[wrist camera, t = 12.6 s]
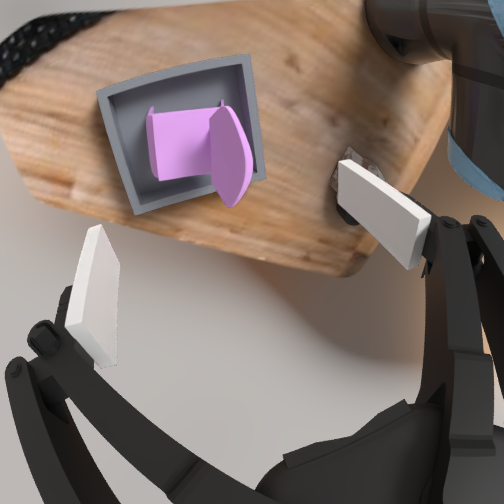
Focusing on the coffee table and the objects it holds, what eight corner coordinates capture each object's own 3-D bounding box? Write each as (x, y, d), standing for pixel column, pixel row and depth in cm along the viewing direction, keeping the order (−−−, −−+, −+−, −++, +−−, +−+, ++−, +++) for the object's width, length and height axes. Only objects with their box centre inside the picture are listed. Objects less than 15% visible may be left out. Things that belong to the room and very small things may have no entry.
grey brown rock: (354, 208, 51) (312, 205, 46) (386, 156, 43) (345, 144, 38) (376, 234, 47) (335, 236, 42) (413, 181, 39) (375, 172, 35)
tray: (239, 54, 29) (250, 53, 26) (256, 167, 38) (266, 178, 35) (102, 88, 26) (95, 91, 23) (136, 201, 36) (134, 215, 32)
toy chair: (145, 98, 28) (138, 121, 16) (223, 90, 30) (271, 109, 19) (151, 167, 33) (153, 232, 21) (224, 157, 35) (267, 215, 23)
